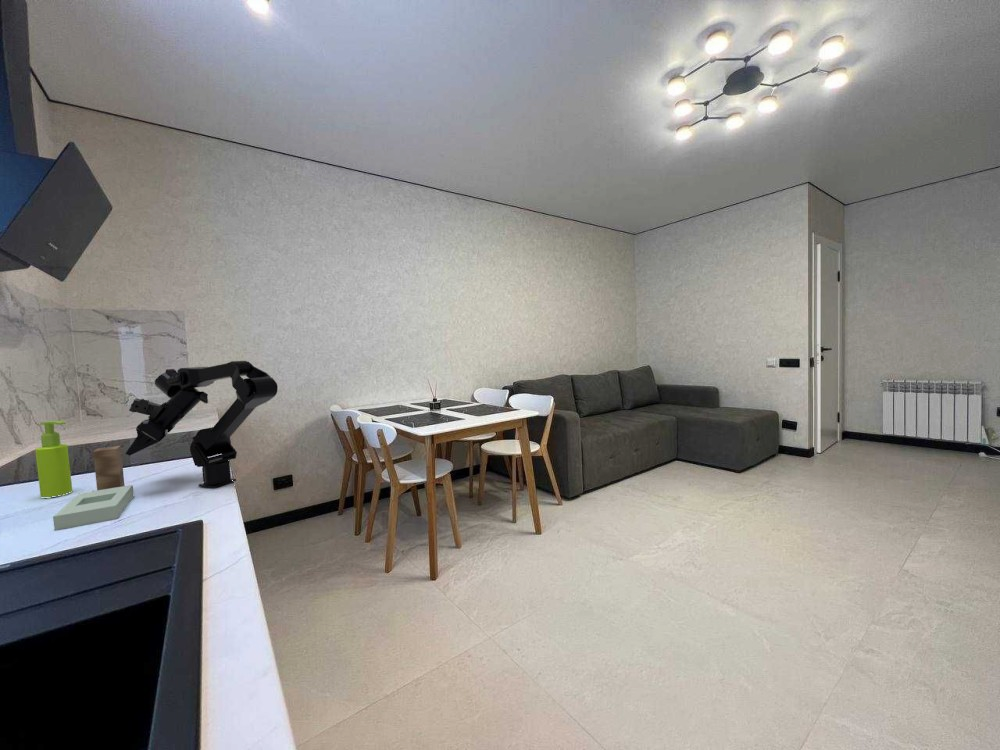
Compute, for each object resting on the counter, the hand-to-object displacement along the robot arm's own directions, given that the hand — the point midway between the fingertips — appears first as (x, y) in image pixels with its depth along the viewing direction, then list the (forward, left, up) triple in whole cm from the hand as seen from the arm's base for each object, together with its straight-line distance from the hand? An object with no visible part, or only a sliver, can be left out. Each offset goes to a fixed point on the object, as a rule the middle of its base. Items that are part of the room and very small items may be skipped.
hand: (131, 451), depth 113 cm
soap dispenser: (+19, +7, -11) cm, 23 cm away
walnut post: (+3, +4, -11) cm, 12 cm away
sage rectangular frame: (-8, +13, -11) cm, 19 cm away
